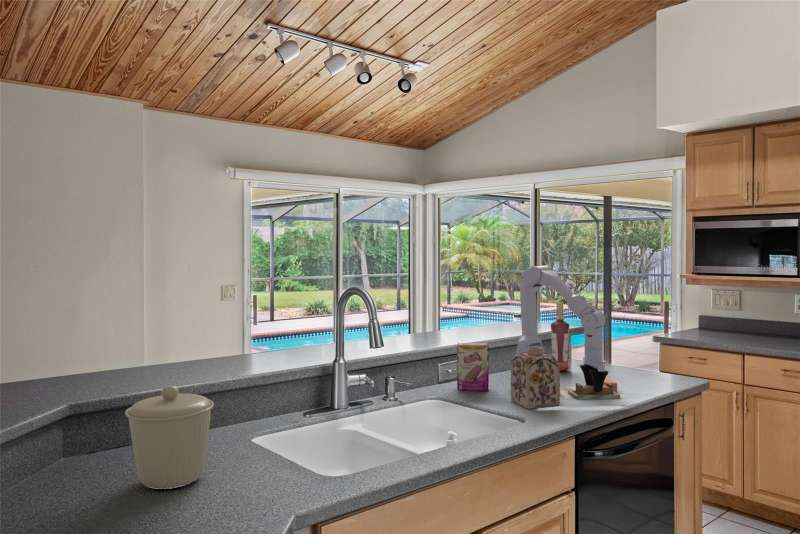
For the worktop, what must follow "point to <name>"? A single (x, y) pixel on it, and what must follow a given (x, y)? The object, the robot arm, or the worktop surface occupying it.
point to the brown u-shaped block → (590, 389)
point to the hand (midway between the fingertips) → (593, 388)
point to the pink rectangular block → (611, 383)
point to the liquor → (560, 339)
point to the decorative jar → (535, 379)
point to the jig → (571, 394)
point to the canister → (170, 437)
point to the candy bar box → (472, 366)
